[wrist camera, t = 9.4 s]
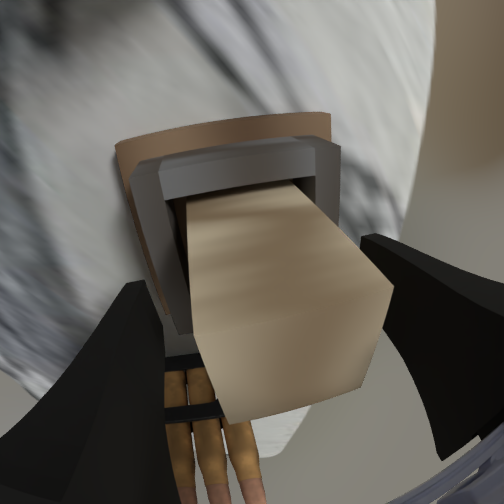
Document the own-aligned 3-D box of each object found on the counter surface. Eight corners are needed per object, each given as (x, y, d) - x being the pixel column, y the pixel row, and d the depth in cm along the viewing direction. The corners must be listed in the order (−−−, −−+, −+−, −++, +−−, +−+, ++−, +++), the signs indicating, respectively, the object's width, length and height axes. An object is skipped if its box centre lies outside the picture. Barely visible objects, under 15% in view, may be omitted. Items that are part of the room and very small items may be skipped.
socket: (166, 302, 16) (165, 350, 13) (119, 141, 11) (96, 159, 8) (319, 270, 17) (346, 310, 14) (320, 111, 12) (361, 121, 9)
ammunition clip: (100, 378, 18) (95, 527, 8) (90, 363, 17) (78, 523, 7) (237, 362, 20) (280, 521, 10) (235, 346, 19) (282, 520, 9)
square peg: (203, 266, 14) (229, 424, 7) (186, 187, 11) (193, 336, 5) (284, 250, 14) (360, 387, 8) (279, 172, 12) (393, 286, 5)
